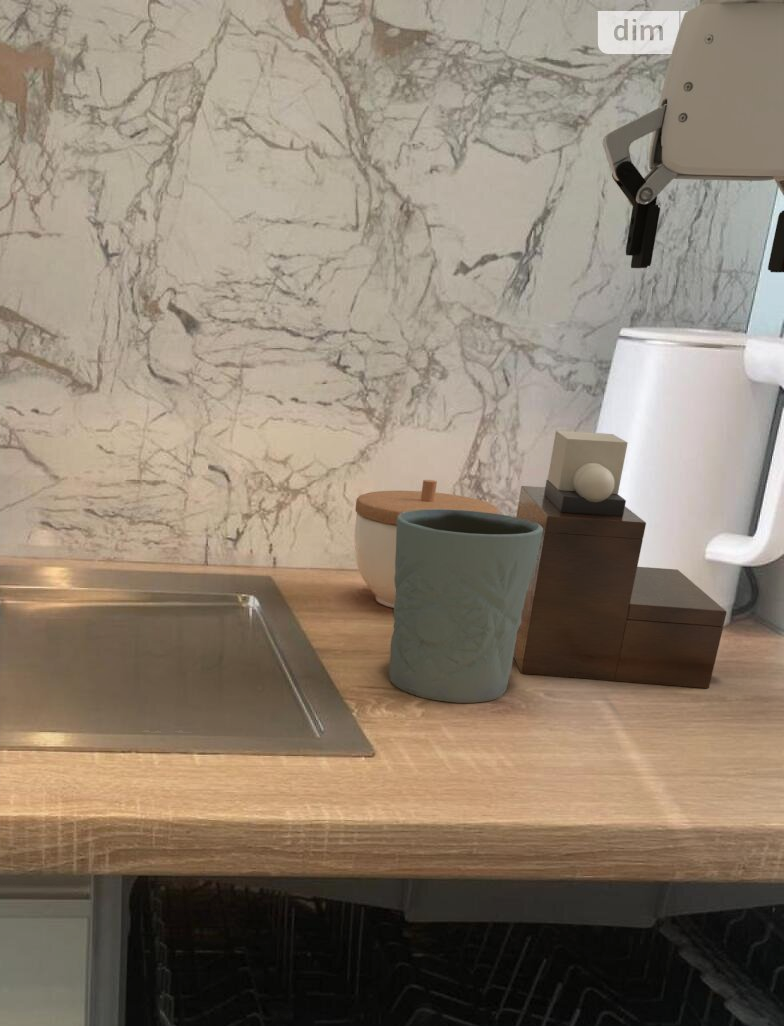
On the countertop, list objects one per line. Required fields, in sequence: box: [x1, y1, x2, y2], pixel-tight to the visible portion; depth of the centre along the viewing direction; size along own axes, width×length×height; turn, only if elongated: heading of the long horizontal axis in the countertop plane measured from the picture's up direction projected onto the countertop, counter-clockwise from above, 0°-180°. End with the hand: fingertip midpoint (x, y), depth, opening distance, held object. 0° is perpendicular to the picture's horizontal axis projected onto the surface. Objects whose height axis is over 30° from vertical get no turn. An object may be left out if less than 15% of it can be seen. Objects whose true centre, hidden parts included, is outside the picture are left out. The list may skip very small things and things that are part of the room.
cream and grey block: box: [544, 430, 629, 517], centre depth 90 cm, size 9×4×5 cm, turn 173°
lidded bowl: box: [354, 479, 500, 609], centre depth 108 cm, size 13×13×11 cm
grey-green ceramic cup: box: [389, 509, 543, 704], centre depth 86 cm, size 10×10×12 cm
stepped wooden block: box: [513, 485, 728, 689], centre depth 95 cm, size 14×14×12 cm
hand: (709, 269), depth 85 cm, fingers open, 9 cm apart
